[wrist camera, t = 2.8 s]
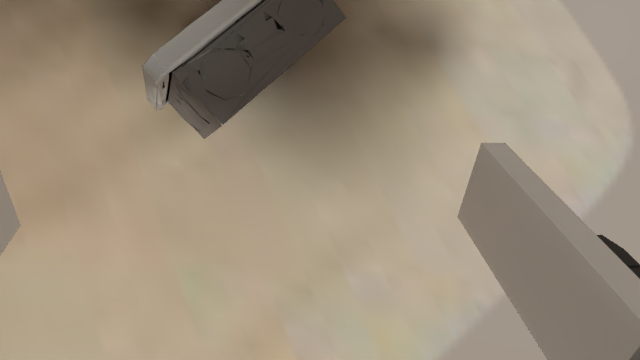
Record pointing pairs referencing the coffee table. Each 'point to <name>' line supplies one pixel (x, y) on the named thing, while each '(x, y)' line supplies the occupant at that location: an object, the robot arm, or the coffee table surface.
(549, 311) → the robot arm
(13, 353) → the coffee table surface
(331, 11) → the electrical switch
